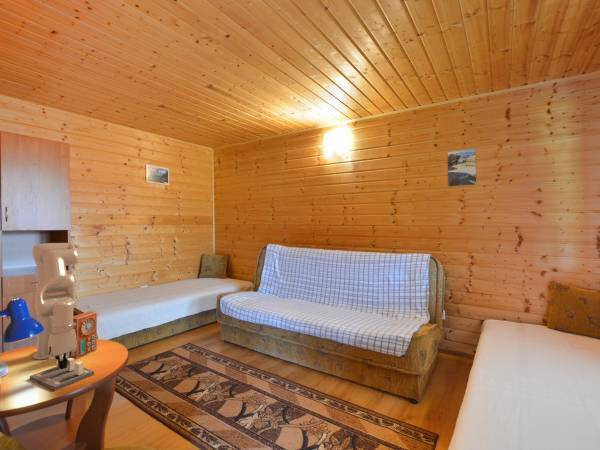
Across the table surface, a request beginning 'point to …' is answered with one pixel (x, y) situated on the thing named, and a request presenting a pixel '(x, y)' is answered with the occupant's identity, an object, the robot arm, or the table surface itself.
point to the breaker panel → (59, 377)
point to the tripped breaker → (70, 364)
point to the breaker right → (79, 368)
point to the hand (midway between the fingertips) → (62, 367)
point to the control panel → (85, 334)
